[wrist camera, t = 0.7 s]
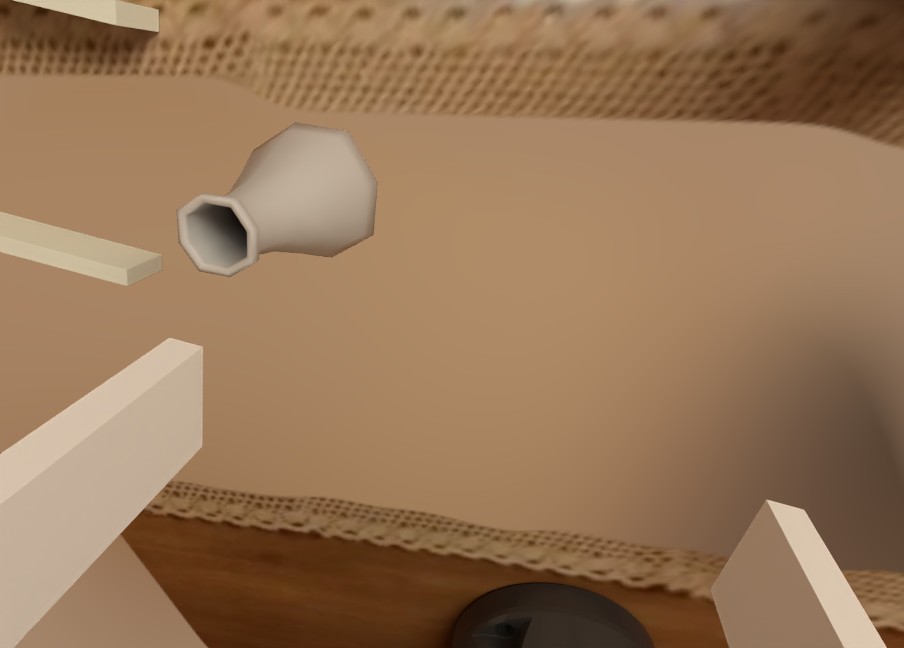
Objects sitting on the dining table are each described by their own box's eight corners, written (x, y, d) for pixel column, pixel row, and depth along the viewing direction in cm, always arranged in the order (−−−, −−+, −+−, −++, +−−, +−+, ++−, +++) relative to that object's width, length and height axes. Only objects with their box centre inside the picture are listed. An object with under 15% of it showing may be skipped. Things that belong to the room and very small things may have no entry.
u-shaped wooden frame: (162, 270, 33) (127, 286, 30) (-51, 213, 33) (-103, 224, 31) (158, 9, 27) (115, 0, 24) (-99, -52, 27) (-169, -68, 25)
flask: (276, 264, 31) (167, 334, 22) (235, 134, 29) (94, 154, 20) (393, 247, 30) (329, 315, 21) (362, 109, 27) (273, 117, 18)
